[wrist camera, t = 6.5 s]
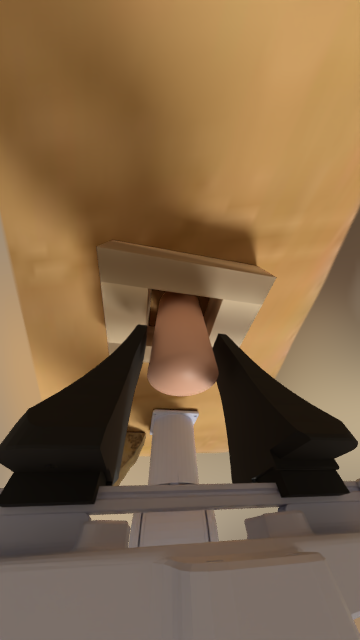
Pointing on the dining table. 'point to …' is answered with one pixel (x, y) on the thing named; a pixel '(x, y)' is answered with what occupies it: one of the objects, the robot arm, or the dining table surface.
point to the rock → (130, 453)
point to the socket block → (176, 289)
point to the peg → (181, 348)
